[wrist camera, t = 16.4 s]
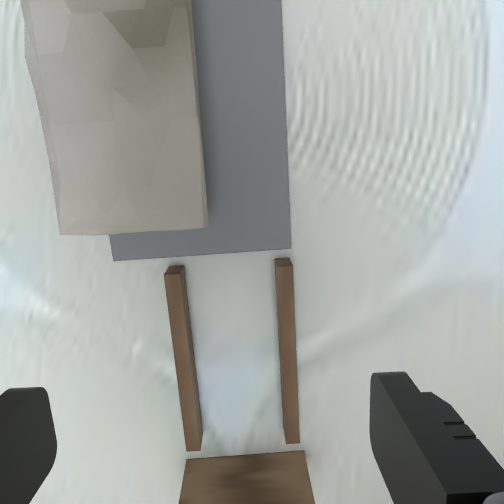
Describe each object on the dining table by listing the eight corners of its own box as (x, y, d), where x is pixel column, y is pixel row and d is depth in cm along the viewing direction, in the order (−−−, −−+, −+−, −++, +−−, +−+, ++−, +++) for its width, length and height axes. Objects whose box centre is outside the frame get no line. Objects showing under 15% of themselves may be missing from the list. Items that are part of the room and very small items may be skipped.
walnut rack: (296, 257, 32) (338, 337, 18) (304, 461, 37) (341, 642, 23) (161, 267, 32) (102, 354, 18) (187, 470, 37) (156, 657, 23)
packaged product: (197, -56, 25) (47, -45, 26) (180, -103, 20) (-3, -88, 21) (216, 219, 30) (89, 224, 30) (206, 232, 25) (56, 238, 25)
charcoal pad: (275, -111, 25) (276, -119, 25) (290, 246, 31) (291, 248, 31) (59, -98, 25) (54, -106, 24) (116, 258, 31) (113, 261, 31)
